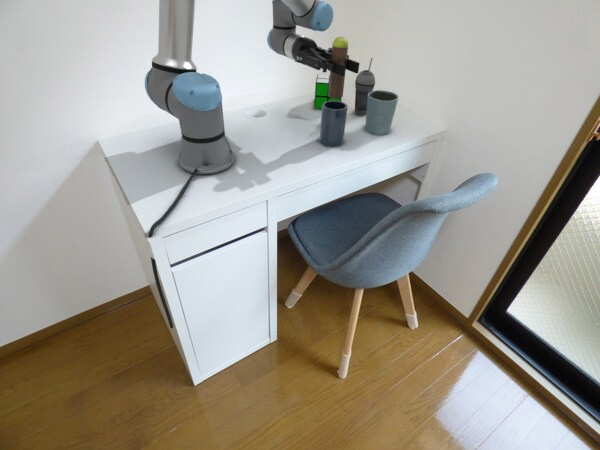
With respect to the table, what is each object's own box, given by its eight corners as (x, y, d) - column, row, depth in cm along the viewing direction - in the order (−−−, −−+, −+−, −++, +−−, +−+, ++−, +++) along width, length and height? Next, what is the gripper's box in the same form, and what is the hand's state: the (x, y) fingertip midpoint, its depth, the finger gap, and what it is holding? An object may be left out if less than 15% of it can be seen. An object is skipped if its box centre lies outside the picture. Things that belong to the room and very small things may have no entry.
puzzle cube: (340, 101, 147) (343, 75, 140) (340, 111, 139) (343, 84, 132) (315, 99, 147) (317, 74, 141) (313, 109, 139) (315, 82, 133)
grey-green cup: (373, 137, 122) (380, 102, 114) (356, 125, 129) (361, 92, 121) (397, 132, 126) (405, 98, 118) (379, 121, 133) (385, 88, 125)
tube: (335, 148, 115) (339, 112, 107) (315, 142, 118) (317, 105, 110) (347, 140, 120) (351, 104, 112) (327, 134, 123) (330, 98, 115)
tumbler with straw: (356, 108, 142) (364, 53, 129) (373, 113, 139) (383, 57, 126) (347, 113, 137) (354, 57, 124) (364, 118, 134) (373, 61, 121)
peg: (338, 99, 107) (344, 39, 97) (325, 96, 109) (330, 36, 99) (345, 95, 110) (352, 36, 100) (332, 92, 112) (338, 34, 102)
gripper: (322, 58, 121) (371, 78, 107) (278, 66, 113) (325, 88, 99) (323, 33, 116) (375, 51, 102) (278, 39, 108) (327, 59, 94)
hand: (351, 69), depth 101 cm, fingers closed on peg, 4 cm apart
